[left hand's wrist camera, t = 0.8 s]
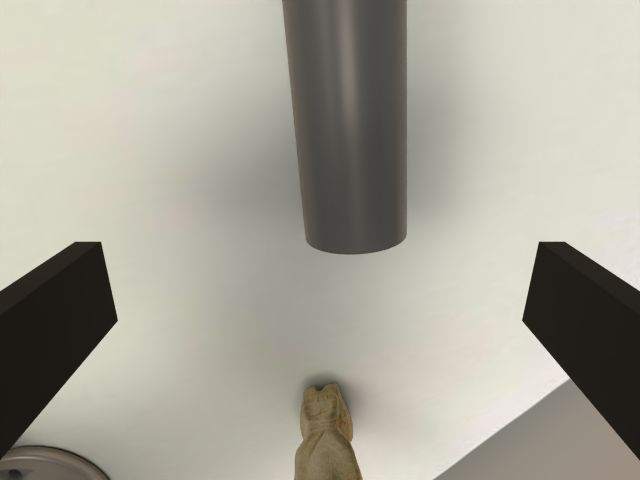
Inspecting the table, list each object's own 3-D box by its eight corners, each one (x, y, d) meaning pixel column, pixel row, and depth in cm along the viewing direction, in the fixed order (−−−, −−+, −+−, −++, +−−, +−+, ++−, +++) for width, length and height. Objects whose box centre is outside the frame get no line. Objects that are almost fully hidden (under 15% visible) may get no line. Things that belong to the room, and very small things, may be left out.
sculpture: (304, 432, 44) (298, 598, 30) (292, 379, 41) (278, 534, 27) (358, 425, 43) (377, 590, 29) (349, 372, 41) (365, 524, 27)
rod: (396, 215, 35) (417, 250, 28) (306, 222, 35) (304, 258, 28) (392, -186, 25) (422, -294, 18) (269, -174, 25) (249, -276, 18)
